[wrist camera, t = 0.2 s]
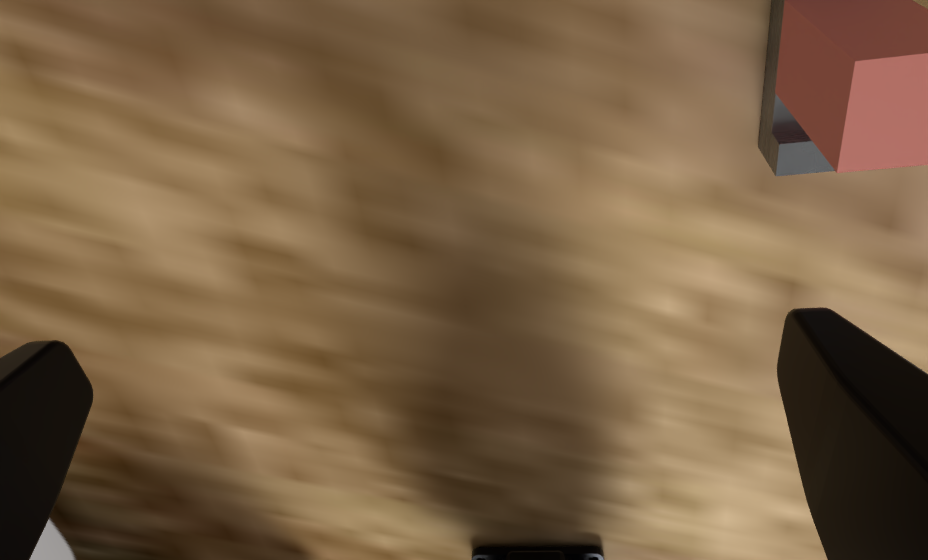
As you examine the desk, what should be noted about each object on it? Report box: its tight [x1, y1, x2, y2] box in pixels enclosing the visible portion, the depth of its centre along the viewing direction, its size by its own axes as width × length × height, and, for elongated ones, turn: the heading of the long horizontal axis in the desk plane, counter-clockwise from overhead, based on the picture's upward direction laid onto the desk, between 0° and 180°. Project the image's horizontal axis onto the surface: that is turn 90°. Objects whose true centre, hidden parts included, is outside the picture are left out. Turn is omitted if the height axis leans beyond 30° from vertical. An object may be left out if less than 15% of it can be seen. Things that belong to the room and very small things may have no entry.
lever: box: [775, 0, 928, 173], centre depth 17 cm, size 2×2×5 cm
